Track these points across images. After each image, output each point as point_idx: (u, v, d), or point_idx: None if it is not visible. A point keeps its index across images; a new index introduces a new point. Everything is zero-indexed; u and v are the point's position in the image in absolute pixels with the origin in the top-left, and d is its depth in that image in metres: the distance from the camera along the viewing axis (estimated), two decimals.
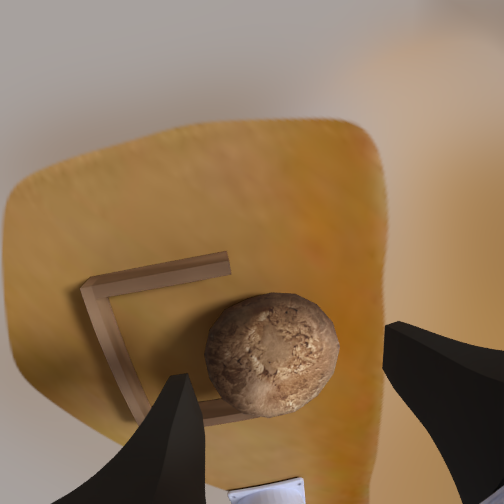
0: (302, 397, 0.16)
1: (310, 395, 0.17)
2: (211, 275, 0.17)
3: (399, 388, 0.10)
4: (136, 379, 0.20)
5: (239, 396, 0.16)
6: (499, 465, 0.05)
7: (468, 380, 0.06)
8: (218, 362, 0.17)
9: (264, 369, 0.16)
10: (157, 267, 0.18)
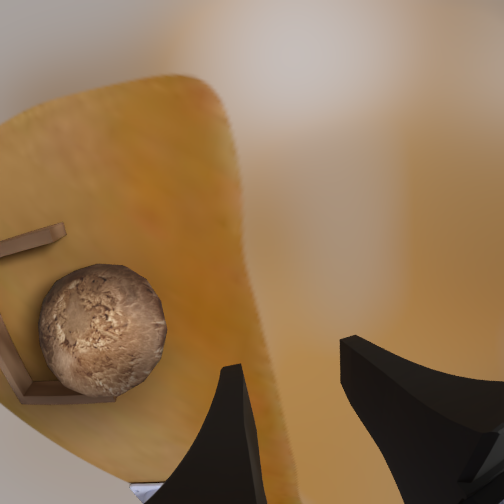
0: (114, 378, 0.14)
1: (125, 378, 0.14)
2: (37, 243, 0.15)
3: (355, 405, 0.10)
4: (12, 350, 0.18)
5: (53, 366, 0.13)
6: (446, 501, 0.04)
7: (413, 408, 0.06)
8: (39, 329, 0.14)
9: (66, 339, 0.13)
10: (8, 239, 0.16)
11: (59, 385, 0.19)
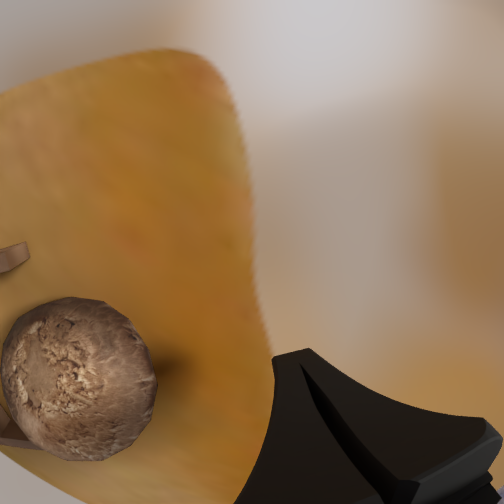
0: (92, 446, 0.10)
1: (106, 446, 0.10)
2: None
3: None
4: None
5: (19, 425, 0.09)
6: None
7: (347, 434, 0.06)
8: (1, 378, 0.10)
9: (29, 398, 0.09)
10: None
11: None
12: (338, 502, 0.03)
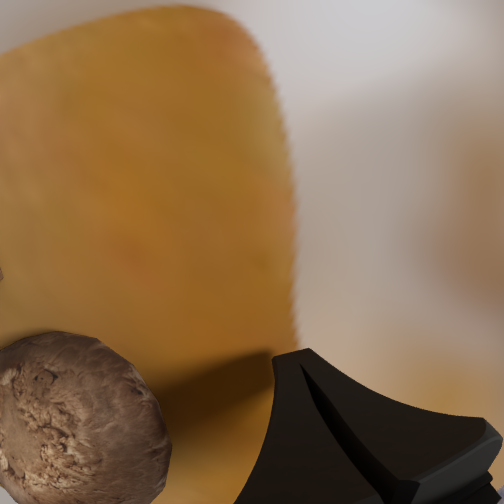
0: None
1: None
2: None
3: None
4: None
5: (4, 487, 0.06)
6: None
7: (347, 434, 0.06)
8: None
9: (9, 466, 0.05)
10: None
11: None
12: (338, 502, 0.03)
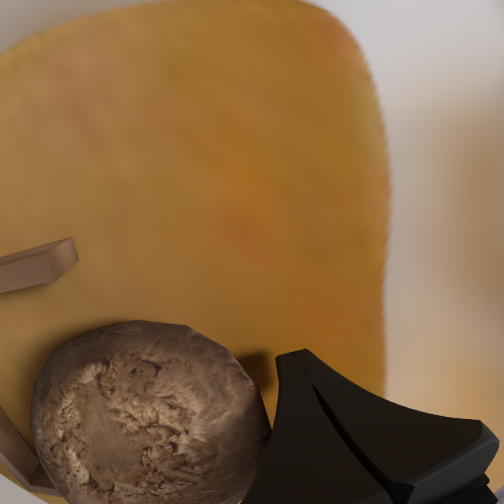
0: None
1: None
2: (24, 281, 0.07)
3: None
4: (6, 424, 0.10)
5: (70, 502, 0.06)
6: None
7: (343, 436, 0.06)
8: (34, 439, 0.06)
9: (91, 478, 0.06)
10: None
11: None
12: (346, 499, 0.03)
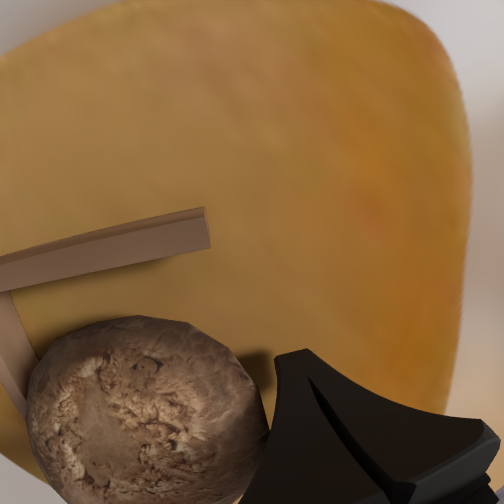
0: None
1: None
2: (166, 249, 0.08)
3: None
4: None
5: (63, 497, 0.06)
6: None
7: (344, 435, 0.06)
8: (29, 432, 0.06)
9: (87, 474, 0.06)
10: (72, 239, 0.08)
11: None
12: (343, 501, 0.03)
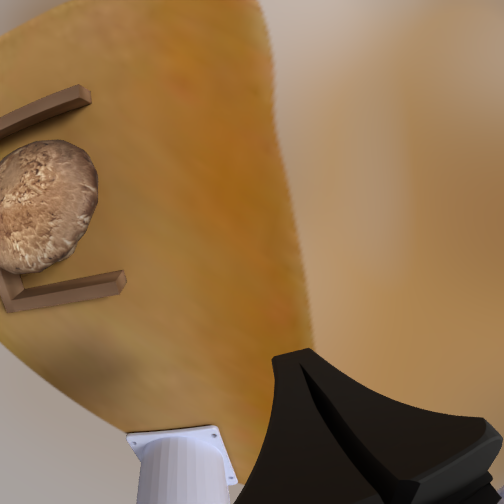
0: (31, 241, 0.12)
1: (42, 243, 0.12)
2: (62, 100, 0.13)
3: None
4: None
5: None
6: None
7: (347, 434, 0.06)
8: None
9: None
10: None
11: (54, 286, 0.17)
12: (338, 502, 0.03)
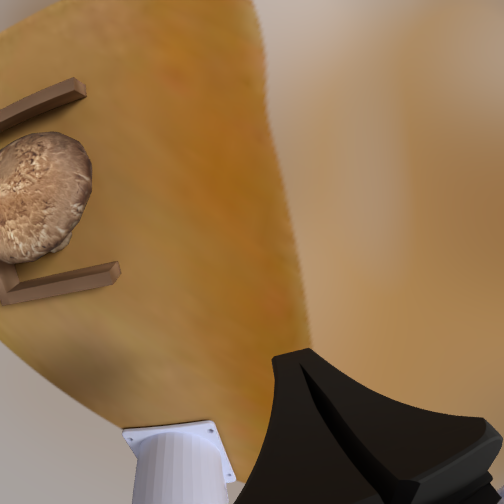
0: (25, 230, 0.12)
1: (36, 232, 0.12)
2: (57, 93, 0.13)
3: None
4: None
5: None
6: None
7: (347, 434, 0.06)
8: None
9: None
10: None
11: (49, 278, 0.17)
12: (338, 502, 0.03)
